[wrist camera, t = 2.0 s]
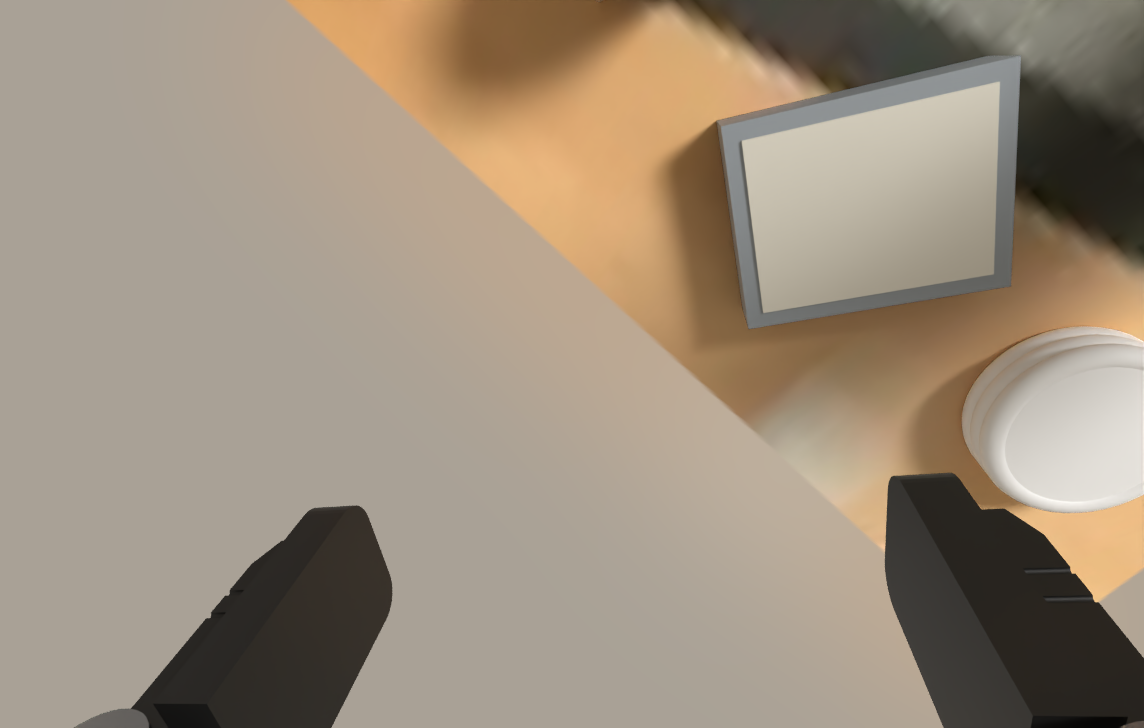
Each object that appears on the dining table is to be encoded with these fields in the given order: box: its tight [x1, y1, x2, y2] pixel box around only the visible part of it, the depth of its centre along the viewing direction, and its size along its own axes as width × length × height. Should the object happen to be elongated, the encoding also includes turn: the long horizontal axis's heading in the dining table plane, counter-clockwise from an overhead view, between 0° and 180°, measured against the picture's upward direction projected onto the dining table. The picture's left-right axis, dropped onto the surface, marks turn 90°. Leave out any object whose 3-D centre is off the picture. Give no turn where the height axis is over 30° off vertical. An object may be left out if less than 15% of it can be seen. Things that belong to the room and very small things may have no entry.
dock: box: [717, 56, 1021, 329], centre depth 30 cm, size 12×10×3 cm
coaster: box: [962, 326, 1144, 513], centre depth 33 cm, size 10×10×4 cm
